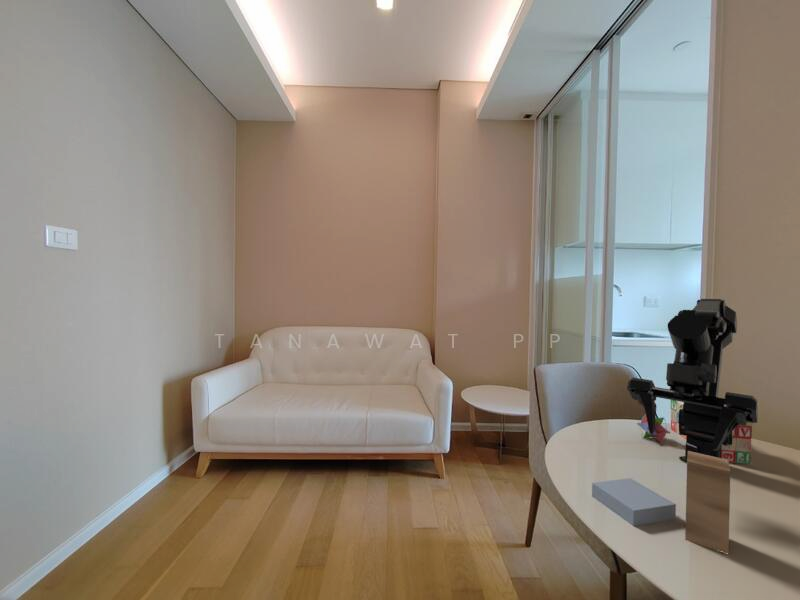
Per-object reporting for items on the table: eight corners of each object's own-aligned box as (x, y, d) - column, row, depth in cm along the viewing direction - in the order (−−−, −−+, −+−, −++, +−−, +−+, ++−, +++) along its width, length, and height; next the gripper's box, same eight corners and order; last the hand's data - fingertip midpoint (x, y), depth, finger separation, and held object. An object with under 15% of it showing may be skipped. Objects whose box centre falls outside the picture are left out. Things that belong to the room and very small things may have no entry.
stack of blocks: (669, 429, 104) (670, 387, 104) (693, 431, 103) (694, 389, 103) (721, 462, 83) (722, 410, 83) (751, 465, 82) (753, 412, 82)
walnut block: (686, 524, 59) (687, 450, 59) (726, 537, 56) (728, 459, 56) (685, 539, 55) (687, 460, 55) (728, 554, 52) (730, 471, 52)
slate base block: (630, 493, 69) (630, 478, 69) (675, 521, 61) (675, 504, 61) (591, 498, 67) (592, 482, 67) (633, 528, 59) (633, 510, 58)
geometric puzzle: (683, 438, 91) (665, 408, 96) (661, 440, 89) (645, 409, 94) (661, 446, 97) (646, 417, 101) (641, 447, 95) (626, 418, 100)
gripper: (628, 339, 72) (612, 410, 66) (757, 351, 58) (752, 442, 52) (640, 365, 78) (626, 432, 72) (759, 381, 64) (755, 465, 58)
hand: (681, 441), depth 64 cm, fingers open, 9 cm apart
